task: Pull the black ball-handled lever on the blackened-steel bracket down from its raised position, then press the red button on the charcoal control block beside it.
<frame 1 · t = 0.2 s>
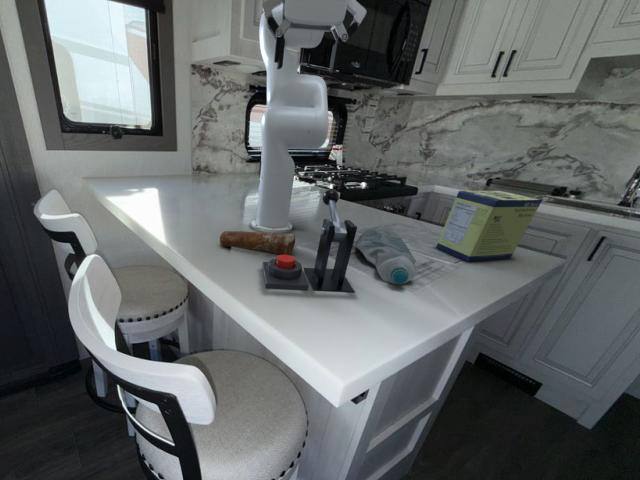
hand: (306, 69, 55), 36 cm above the worktop, tool pointing down, fingers open, 9 cm apart
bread: (255, 252, 76), on the worktop
crushed plastic bottle: (383, 270, 71), on the worktop
bracket: (326, 284, 63), on the worktop
button block: (282, 282, 62), on the worktop
protein box: (471, 253, 84), on the worktop
button: (285, 262, 60), point 4 cm above the worktop, slide at 0.1 cm
lever: (334, 213, 60), point 13 cm above the worktop, hinge at 26.0°
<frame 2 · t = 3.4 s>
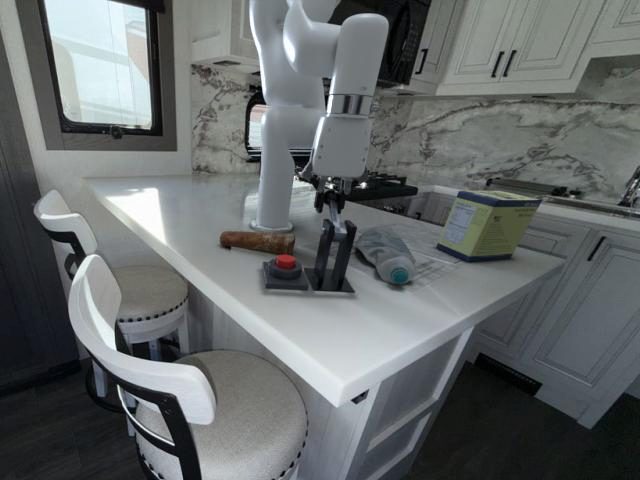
hand: (327, 211, 64), 13 cm above the worktop, tool pointing down, fingers closed on lever, 3 cm apart
lever: (334, 213, 60), point 13 cm above the worktop, hinge at 26.0°, touching gripper
everything else where it was.
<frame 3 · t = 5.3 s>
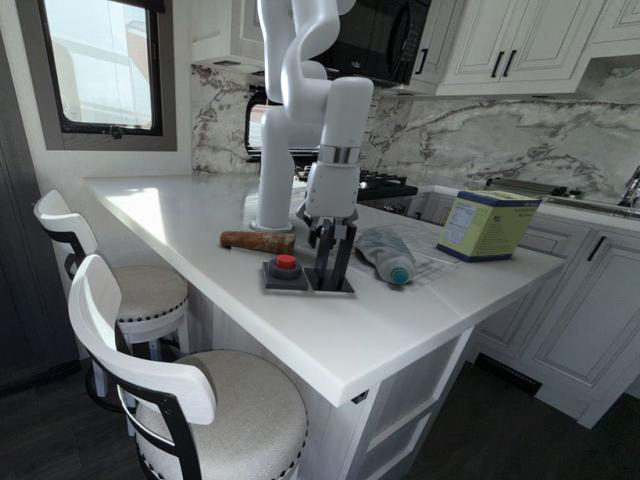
hand: (320, 246, 68), 5 cm above the worktop, tool pointing down, fingers closed on lever, 3 cm apart
lever: (329, 232, 62), point 9 cm above the worktop, hinge at -17.7°, touching gripper
everything else where it was.
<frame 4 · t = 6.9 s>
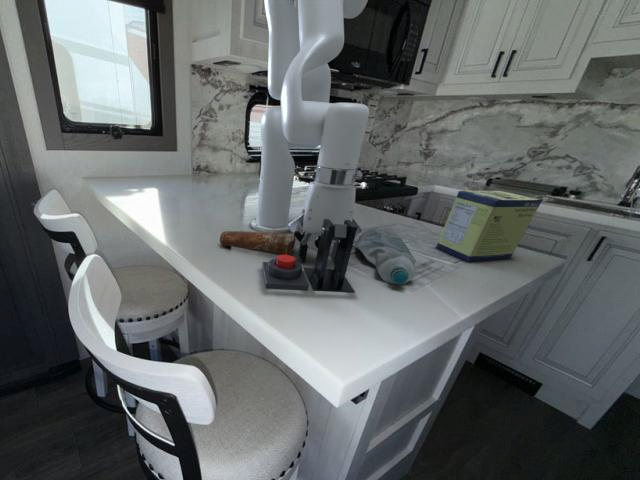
hand: (318, 260, 69), 2 cm above the worktop, tool pointing down, fingers open, 6 cm apart
lever: (329, 237, 62), point 8 cm above the worktop, hinge at -30.5°
everything else where it was.
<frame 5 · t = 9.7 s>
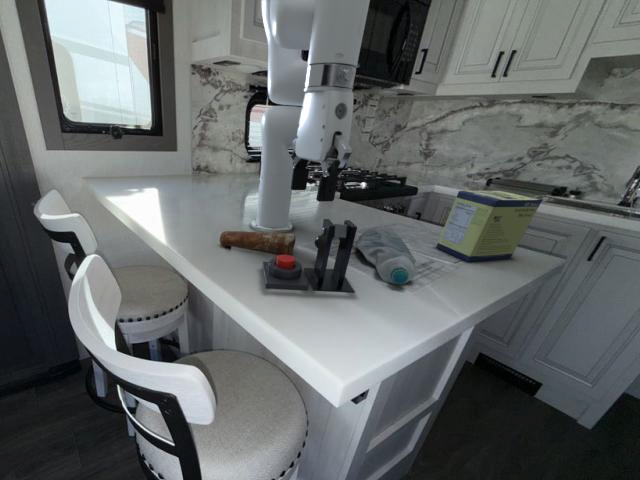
hand: (310, 195, 57), 17 cm above the worktop, tool pointing down, fingers open, 9 cm apart
nothing on the worktop moved.
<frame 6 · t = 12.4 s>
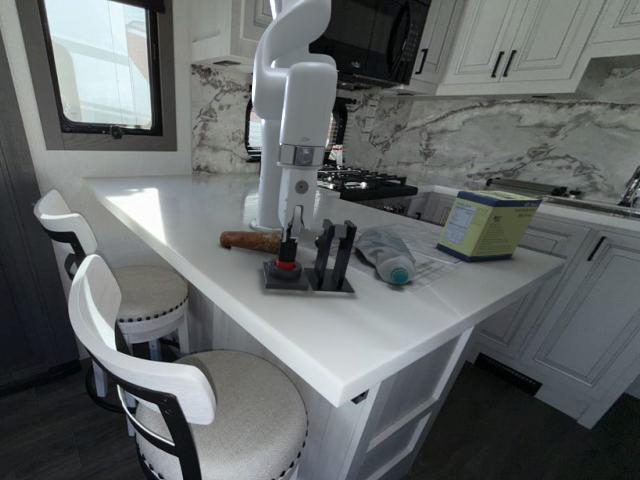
hand: (286, 260, 60), 5 cm above the worktop, tool pointing down, fingers closed
button: (285, 264, 60), point 4 cm above the worktop, slide at -0.3 cm, touching gripper
everything else where it was.
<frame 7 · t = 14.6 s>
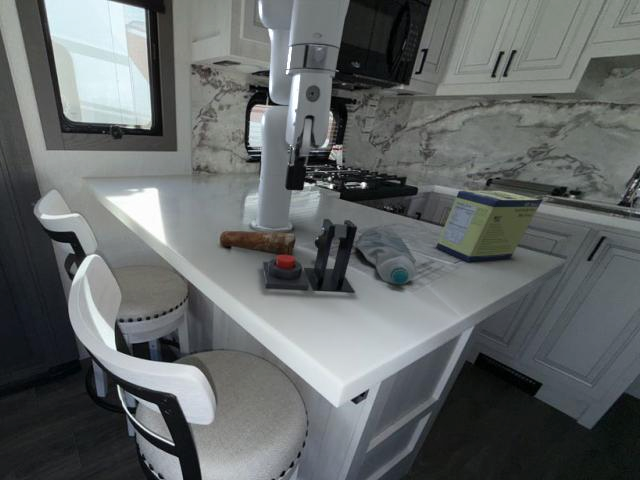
hand: (293, 189, 56), 18 cm above the worktop, tool pointing down, fingers closed
button: (285, 262, 60), point 4 cm above the worktop, slide at 0.1 cm
everything else where it was.
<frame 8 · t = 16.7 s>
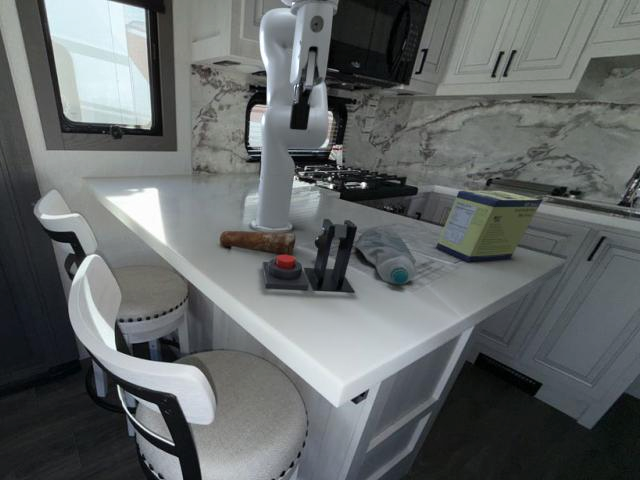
hand: (297, 129, 59), 27 cm above the worktop, tool pointing down, fingers closed
nothing on the worktop moved.
at the end: lever at -30° (first picture: +26°); button pushed in 1.1 cm at the most during the clip, back to where it started at the end; button slide at 0.1 cm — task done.
